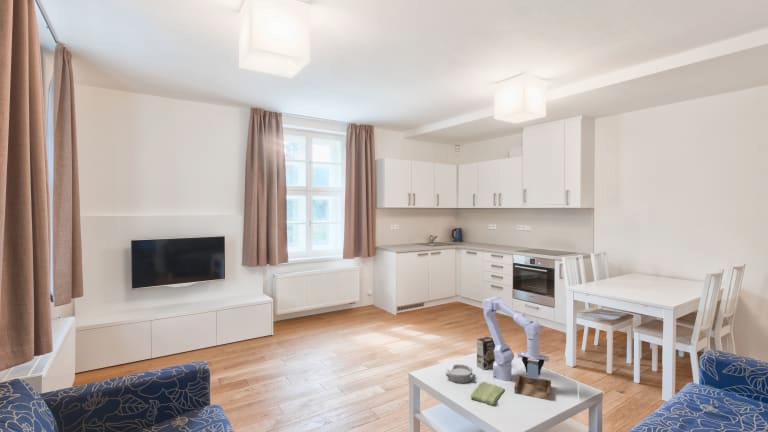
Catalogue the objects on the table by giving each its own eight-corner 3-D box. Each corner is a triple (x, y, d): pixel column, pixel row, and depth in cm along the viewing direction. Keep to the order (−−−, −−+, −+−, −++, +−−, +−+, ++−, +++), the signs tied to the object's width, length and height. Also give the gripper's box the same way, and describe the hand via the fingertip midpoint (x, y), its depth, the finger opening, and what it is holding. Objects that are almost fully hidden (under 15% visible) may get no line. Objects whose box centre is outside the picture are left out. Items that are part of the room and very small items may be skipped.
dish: (444, 382, 201) (444, 372, 200) (449, 370, 214) (449, 362, 213) (472, 386, 195) (472, 376, 195) (475, 374, 208) (475, 365, 208)
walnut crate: (514, 395, 185) (514, 386, 185) (517, 382, 198) (517, 374, 198) (549, 402, 178) (549, 393, 178) (551, 389, 191) (551, 380, 191)
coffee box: (484, 370, 213) (483, 342, 212) (476, 366, 219) (476, 338, 218) (496, 366, 217) (495, 339, 217) (488, 362, 223) (488, 336, 222)
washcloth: (506, 391, 190) (506, 385, 190) (495, 408, 175) (495, 401, 175) (481, 385, 197) (481, 379, 197) (468, 400, 183) (468, 393, 182)
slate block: (527, 377, 188) (527, 363, 187) (528, 373, 192) (528, 359, 192) (538, 379, 185) (538, 365, 185) (538, 375, 190) (538, 361, 190)
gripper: (516, 347, 188) (517, 373, 188) (548, 351, 181) (548, 379, 182) (518, 342, 194) (518, 367, 195) (549, 346, 188) (549, 373, 188)
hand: (533, 373), depth 189 cm, fingers closed on slate block, 5 cm apart
